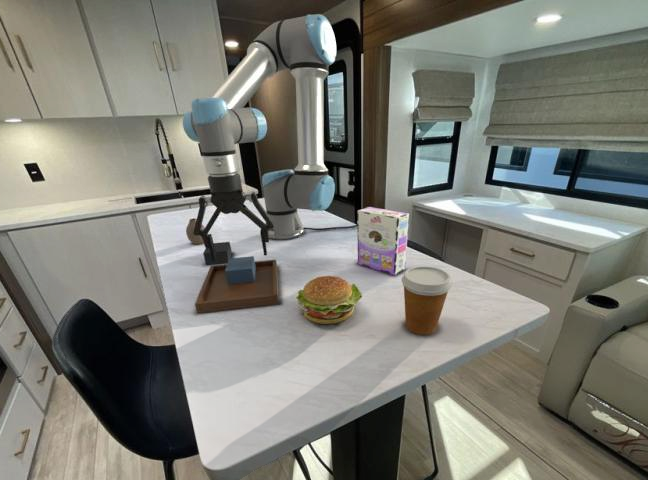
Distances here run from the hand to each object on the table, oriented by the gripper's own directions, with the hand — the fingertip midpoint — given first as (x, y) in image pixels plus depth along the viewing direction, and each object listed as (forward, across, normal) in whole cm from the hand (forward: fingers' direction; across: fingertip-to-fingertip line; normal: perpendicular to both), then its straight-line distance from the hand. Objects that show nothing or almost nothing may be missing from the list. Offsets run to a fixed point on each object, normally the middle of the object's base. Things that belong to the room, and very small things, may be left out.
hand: (240, 256), depth 87 cm
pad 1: (+7, -9, +18) cm, 21 cm away
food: (+7, +21, -24) cm, 32 cm away
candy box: (+8, +40, -2) cm, 40 cm away
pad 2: (+6, 0, -1) cm, 6 cm away
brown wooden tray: (+7, 0, -6) cm, 9 cm away
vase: (+7, -19, +36) cm, 42 cm away
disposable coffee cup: (+7, +39, -34) cm, 52 cm away
